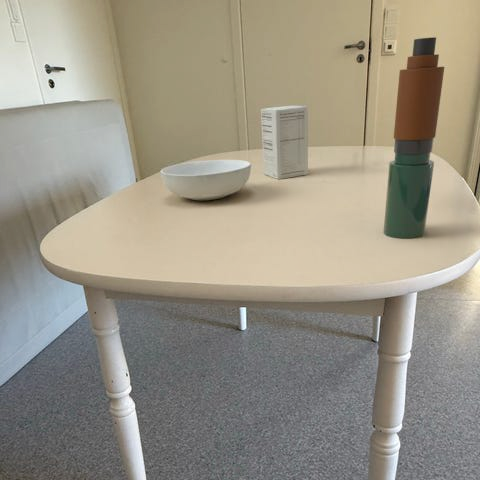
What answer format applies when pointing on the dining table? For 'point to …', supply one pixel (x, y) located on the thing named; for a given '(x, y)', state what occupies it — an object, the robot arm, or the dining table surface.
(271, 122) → the supplement box
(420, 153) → the green bottle
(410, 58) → the amber bottle
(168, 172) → the serving bowl
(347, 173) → the dining table surface
